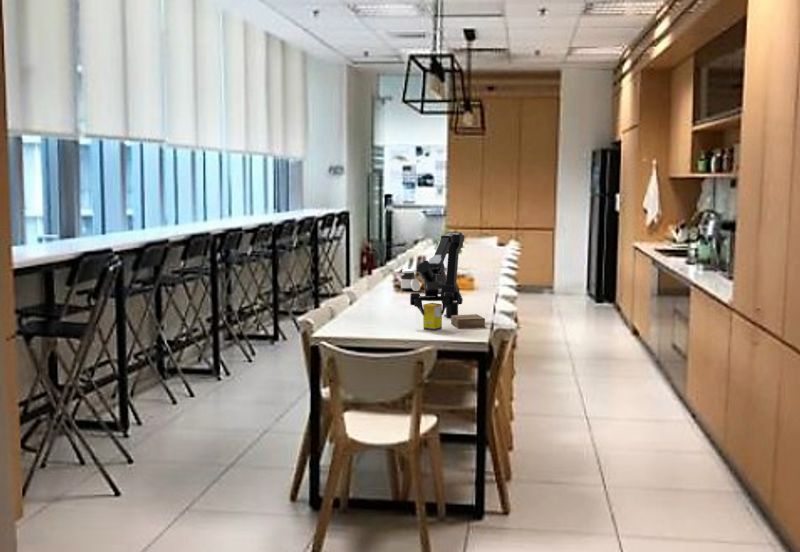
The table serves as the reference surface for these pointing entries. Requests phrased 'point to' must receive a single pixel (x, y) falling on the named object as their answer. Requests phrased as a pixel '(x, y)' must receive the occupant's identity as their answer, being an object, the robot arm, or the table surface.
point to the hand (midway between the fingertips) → (432, 314)
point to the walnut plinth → (467, 321)
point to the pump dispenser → (441, 279)
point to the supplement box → (432, 316)
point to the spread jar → (409, 281)
